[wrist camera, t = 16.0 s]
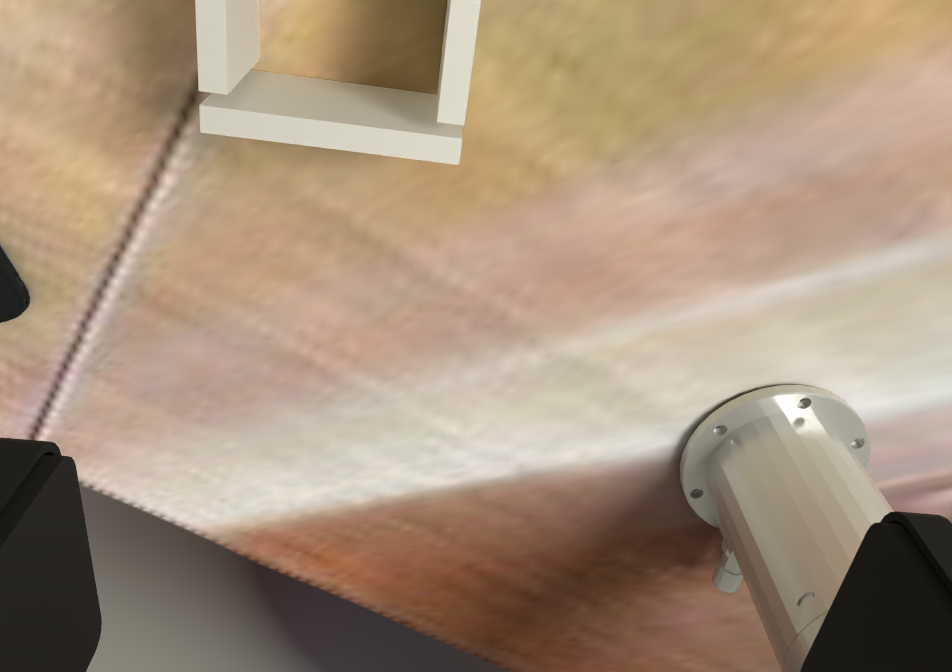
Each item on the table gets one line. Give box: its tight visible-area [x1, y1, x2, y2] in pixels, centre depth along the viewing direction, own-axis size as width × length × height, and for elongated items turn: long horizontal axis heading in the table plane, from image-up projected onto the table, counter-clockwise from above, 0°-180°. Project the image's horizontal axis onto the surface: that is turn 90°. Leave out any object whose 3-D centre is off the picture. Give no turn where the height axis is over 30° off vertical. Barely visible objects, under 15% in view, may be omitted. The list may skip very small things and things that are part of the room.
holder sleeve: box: [195, 0, 481, 165], centre depth 35 cm, size 11×11×7 cm
